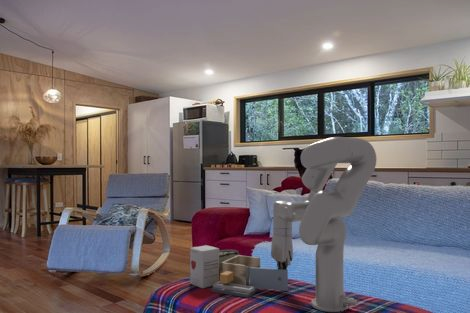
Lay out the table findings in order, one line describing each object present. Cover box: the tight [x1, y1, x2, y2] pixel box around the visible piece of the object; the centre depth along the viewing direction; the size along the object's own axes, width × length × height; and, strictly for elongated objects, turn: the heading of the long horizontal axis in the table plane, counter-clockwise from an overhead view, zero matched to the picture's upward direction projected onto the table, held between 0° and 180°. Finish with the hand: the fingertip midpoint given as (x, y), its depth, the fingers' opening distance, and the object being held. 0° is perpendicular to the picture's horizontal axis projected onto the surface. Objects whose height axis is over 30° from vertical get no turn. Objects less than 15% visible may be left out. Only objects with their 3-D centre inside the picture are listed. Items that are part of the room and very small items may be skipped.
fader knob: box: [219, 271, 233, 285], centre depth 154 cm, size 3×5×5 cm, turn 153°
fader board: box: [210, 280, 258, 299], centre depth 152 cm, size 16×8×2 cm, turn 63°
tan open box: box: [220, 254, 261, 286], centre depth 166 cm, size 11×16×9 cm
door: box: [246, 266, 289, 292], centre depth 154 cm, size 2×17×8 cm, turn 76°
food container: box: [219, 249, 240, 277], centre depth 179 cm, size 12×6×10 cm, turn 130°
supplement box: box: [189, 244, 220, 289], centre depth 162 cm, size 9×9×15 cm
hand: (282, 277), depth 157 cm, fingers closed
